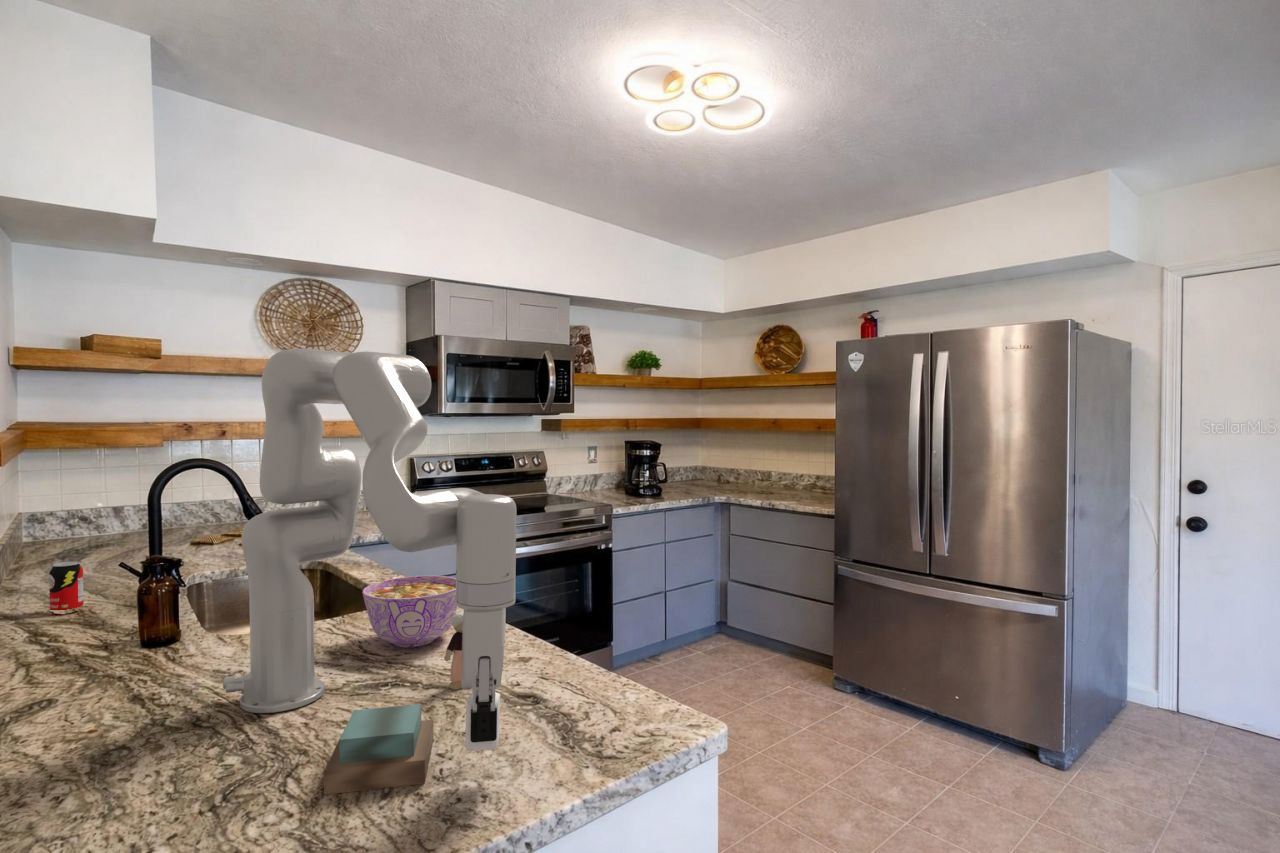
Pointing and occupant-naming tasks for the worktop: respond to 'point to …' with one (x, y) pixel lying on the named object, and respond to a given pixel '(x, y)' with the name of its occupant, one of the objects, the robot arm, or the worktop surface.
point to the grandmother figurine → (456, 651)
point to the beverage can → (66, 585)
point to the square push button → (380, 750)
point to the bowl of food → (411, 608)
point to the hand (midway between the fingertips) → (483, 729)
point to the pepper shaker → (469, 705)
